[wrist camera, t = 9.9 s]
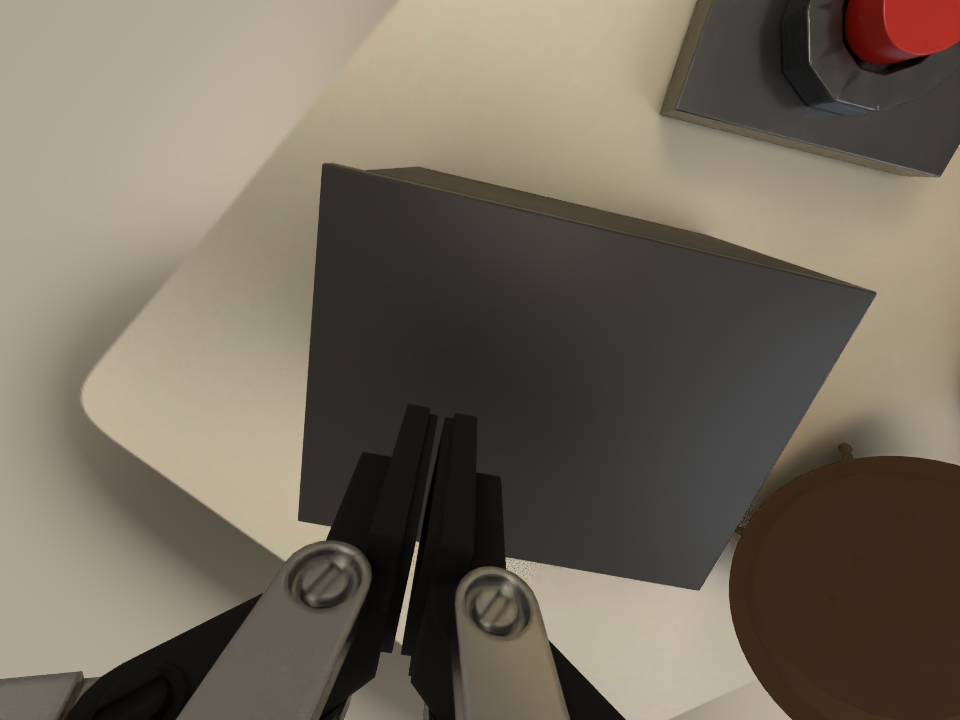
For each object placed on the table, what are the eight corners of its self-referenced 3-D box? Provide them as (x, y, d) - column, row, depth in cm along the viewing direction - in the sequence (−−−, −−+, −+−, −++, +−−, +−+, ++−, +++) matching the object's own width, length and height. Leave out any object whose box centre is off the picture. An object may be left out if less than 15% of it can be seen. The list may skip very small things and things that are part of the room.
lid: (305, 505, 17) (296, 521, 16) (331, 162, 12) (321, 162, 11) (690, 574, 18) (699, 591, 17) (856, 285, 13) (878, 292, 12)
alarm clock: (744, 586, 32) (1087, 1160, 14) (676, 536, 30) (966, 1118, 12) (943, 458, 27) (1881, 1073, 9) (876, 390, 25) (1875, 981, 7)
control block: (658, 114, 20) (690, 104, 17) (750, -158, 16) (813, -235, 13) (903, 176, 21) (977, 179, 18) (1040, -70, 17) (1166, -123, 14)
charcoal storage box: (384, 388, 26) (328, 507, 17) (416, 166, 21) (362, 169, 12) (623, 436, 27) (690, 572, 18) (707, 235, 22) (855, 284, 13)
